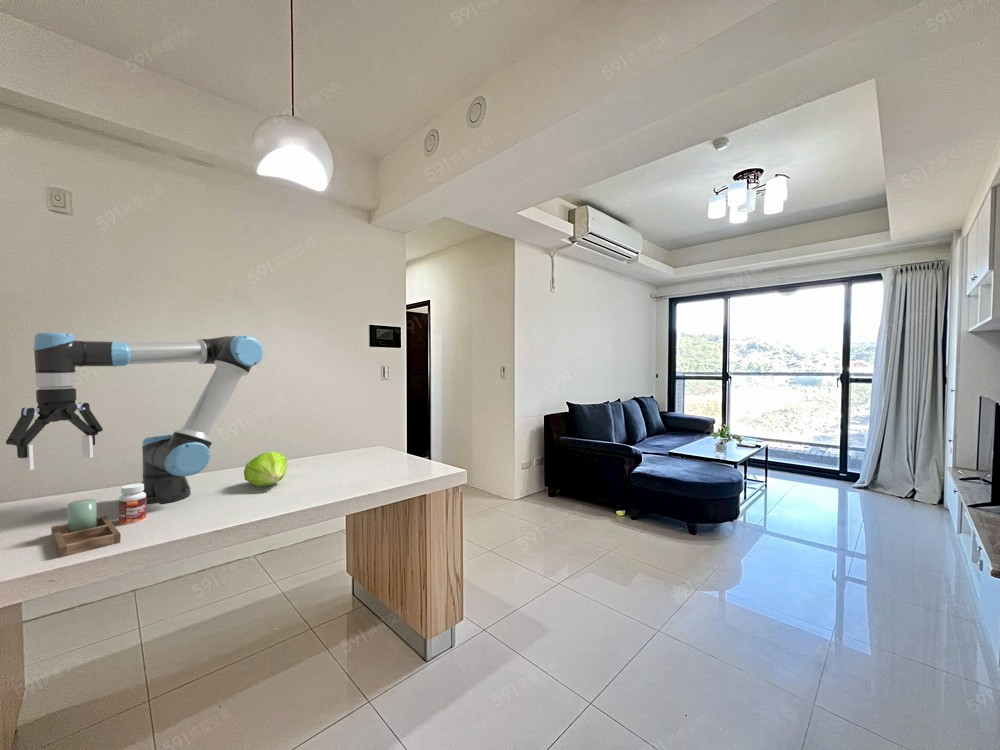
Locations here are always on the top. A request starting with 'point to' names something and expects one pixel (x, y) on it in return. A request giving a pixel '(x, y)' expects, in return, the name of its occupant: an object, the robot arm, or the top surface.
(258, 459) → the lettuce
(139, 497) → the pill bottle
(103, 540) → the crate
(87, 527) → the soap bar
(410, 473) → the top surface
